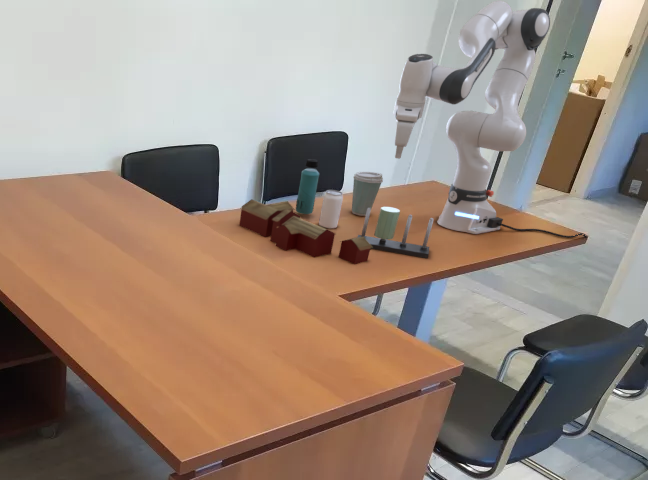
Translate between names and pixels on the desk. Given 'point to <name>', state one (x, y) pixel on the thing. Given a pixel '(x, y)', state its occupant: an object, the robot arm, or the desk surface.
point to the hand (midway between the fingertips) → (398, 154)
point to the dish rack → (395, 245)
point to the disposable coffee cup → (365, 191)
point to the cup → (387, 223)
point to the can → (331, 209)
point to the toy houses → (298, 232)
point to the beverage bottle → (307, 188)
